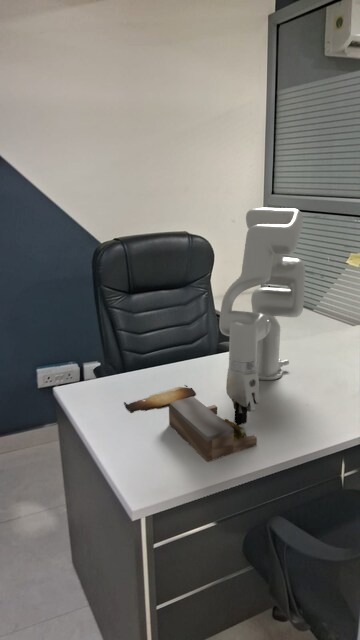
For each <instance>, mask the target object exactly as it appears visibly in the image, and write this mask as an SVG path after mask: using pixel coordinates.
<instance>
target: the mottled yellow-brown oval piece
mask: <svg viewBox="0 0 360 640" xmlns="http://www.w3.org/2000/svg"><path fill="white" fill-rule="evenodd" d="M221 419H222V420H223V421H225V422H226V423H227V424H228V425H230V426H231V427H232V428H233V429H234V441H235V440H238V439H242V438H245V437H247V434H246V433H247V432H245V429H244V428H243V427H241V425H237V424H236V423H235V422H233V421H231V420H229V419H227V418H224V419H223V418H221Z"/></svg>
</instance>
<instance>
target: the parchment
mask: <svg viewBox="0 0 360 640" xmlns="http://www.w3.org/2000/svg"><path fill="white" fill-rule="evenodd" d="M195 395H197V393H196V391H195V390H194V389H193V387H188V385H186V384H184V387H183V386H177V387H173V388H169V389H166V390H163V391H159V392H156V393H152V394H150V395H149V396H148V397H146V398H143V399H139V400H137V401H132V402H131V403H128V404H127V402H126V401H124V405H125V408H126V409H127V410H128V411H130V412H131V413H135V412H139V411H143V412H146V411H149V410H152V409H154V410H155V409H157V410H158V409H159V408H161V407H163V406H166V405H169V402H173V401H177V400H181V399H185V398H189V397H192V396H195Z"/></svg>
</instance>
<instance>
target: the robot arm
mask: <svg viewBox="0 0 360 640" xmlns="http://www.w3.org/2000/svg"><path fill="white" fill-rule="evenodd" d="M245 223H246V226H247V229H248V230H247V231H246V237H245V244H244V250H243V251H244V252H243V259H242V264H241V265H242V266H241V273H240V276H238V278H237V279H236V280H234V282H232V284H231V285H229V287H228V289H227V290H226V292H225V294H224V296H223V298H222V302H221V307H220V311H219V313H220V314H219V322H218V323H219V324H218V327H219V331H220V332H221V334H222V335H224V336H226V337H229V343H228V344H229V345H228V346H229V349H228V350H229V351H228V369H227V374H226V394H227V396H228V397H229V399H230V400H231V401H232V404H233V405H232V406H233V410H234V423H235V424H237V425H239V426H241V425H244V424H246V423H247V422H248V412H249V413H252V412H254V411H255V404H256V405H258V404H260V403H259V402H260V382H259V380H262V381H273V380H277V379H280V378H281V377H282V376H283V369H282V367H283V366H288V365H289V363H290V362H289V359H283V360H282V358H279V357H280V345H281V325H280V323H279V321H278V319H277V318H276V317H282V318H283V317H284V318H299V317H300V316H301V315H302V314H303V310H304V306H305V305H304V302H305V285H306V284H305V282H306V267H305V266H306V265H305V264H304V261H303V260H302V259H300V258H298V257H297V258H296V257H284V256H283V255H292V254H294V252H295V251H296V249H297V246H298V244H299V241H300V236H301V233H302V230H303V225H304V216H303V212H302V211H300V210H299V209H297V208H292V207H291V208H287V207H285V208H283V207H281V208H280V207H256V208H251V209H249V210H248V211H247V212H246V215H245ZM261 285H264V286H265V287H264V286H263V287H259V288H256V289H254V291H253V292H252V294H251V299H250V301H251V310H252V312H251V311H245V310H243V311H241V310H233V305H234V302H235V300H236V299H237V298H238V296H239V295H241V294H243V292H245V291H247V290H249V289H251V288H254V287H258V286H261ZM267 286H268V287H267ZM269 286H273V287H269ZM279 287H287V288H279Z"/></svg>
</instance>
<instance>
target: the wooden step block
mask: <svg viewBox="0 0 360 640" xmlns="http://www.w3.org/2000/svg"><path fill="white" fill-rule="evenodd" d="M222 419H223V418H221V417H220V416H219V415H218V406H217V405H216V404H213V405H209V406H206V405H205V404H203V403H202V402H201V401H200V400H198V399H197V398H196V397H195V396H194V395H192V396H189V397H186V398H184V399H181V400H177V401H173V402H169V404H168V422H169V423H168V424H169V426H170V428H172V429H173V430H174V431H175V432H176V433H177V435H179V436H180V437H181V438H182V439H183V440H184V441H185V442H186V443H187V444H188V445H189V446H190V447H191V448H192V449H193V450H194V451H195V452H196V453H197V454H198V455H199V456H200V457H201V458H203V460H204V461H205V462H207V463H209V462H212V461H215V460H217V459H220V458H223V457H226V456H229V455H231V454H235V453H237V452H238V453H239V452H241V451H244V450H247V449H251V448H252V447H257V444H258V436H256V435H255V434H251V435H248V436H246V437H245V438H242V439H238V440H235V441H234V429H233V428H232V427H231V426H230V425H228V424H227V423H226V422H225V421H223V420H222Z"/></svg>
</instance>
